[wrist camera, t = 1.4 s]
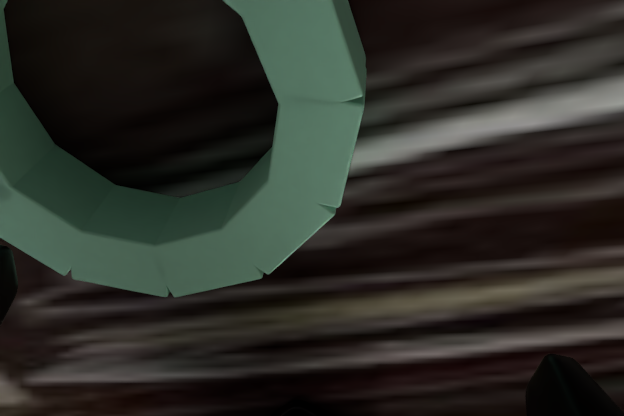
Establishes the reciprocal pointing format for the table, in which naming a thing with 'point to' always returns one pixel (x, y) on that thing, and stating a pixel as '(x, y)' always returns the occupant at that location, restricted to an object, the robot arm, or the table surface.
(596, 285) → the table surface
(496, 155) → the table surface
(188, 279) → the ring
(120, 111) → the table surface
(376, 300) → the table surface
